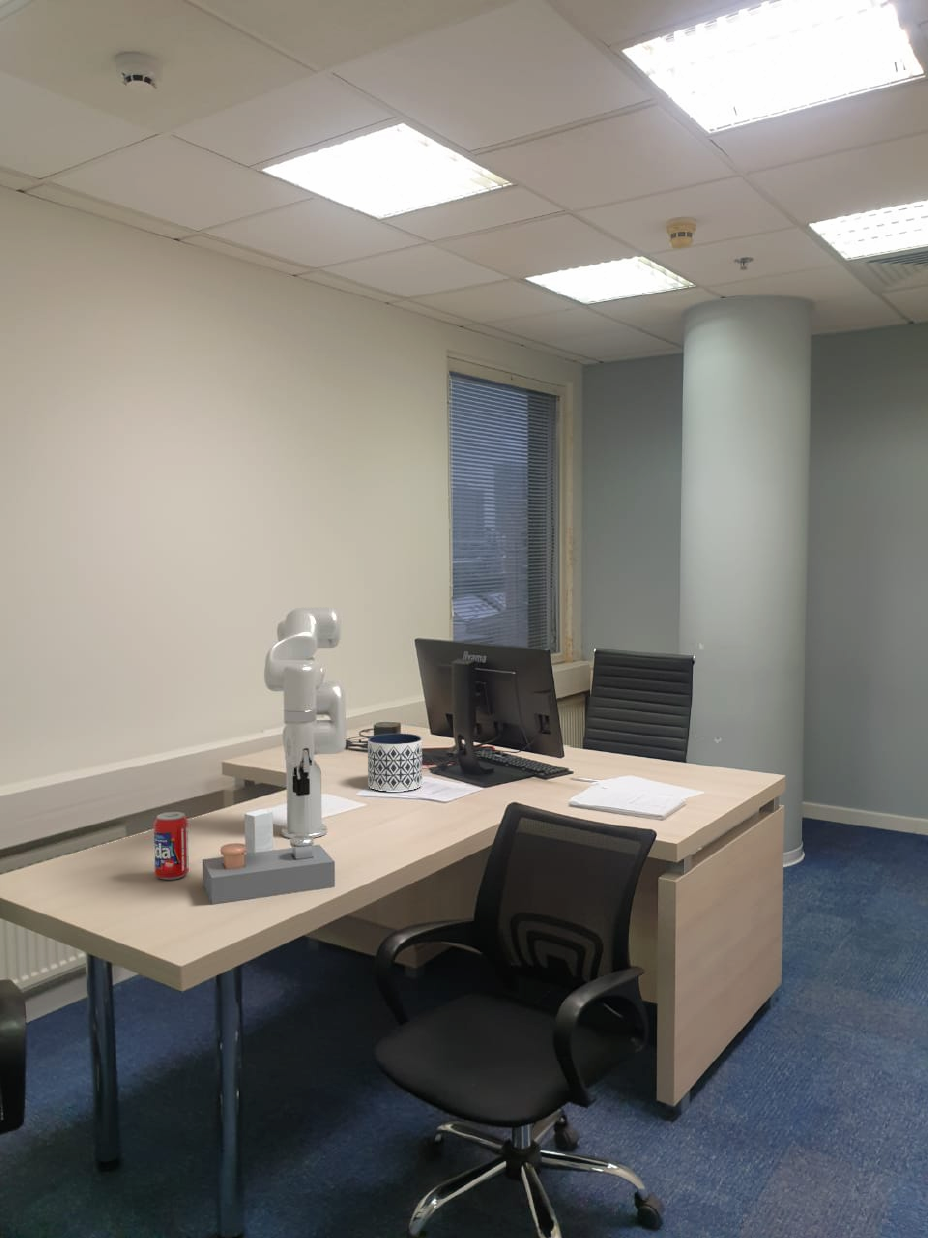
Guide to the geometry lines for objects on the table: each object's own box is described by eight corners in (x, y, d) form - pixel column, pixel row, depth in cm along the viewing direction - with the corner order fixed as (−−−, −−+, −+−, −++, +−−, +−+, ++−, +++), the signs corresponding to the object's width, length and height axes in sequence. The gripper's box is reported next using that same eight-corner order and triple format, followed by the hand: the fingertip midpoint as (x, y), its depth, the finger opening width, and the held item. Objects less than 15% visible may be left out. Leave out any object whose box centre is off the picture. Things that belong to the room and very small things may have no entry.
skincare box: (263, 853, 242) (262, 808, 241) (274, 857, 239) (273, 811, 238) (244, 859, 237) (243, 813, 236) (255, 863, 234) (254, 816, 234)
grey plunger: (287, 862, 222) (287, 836, 222) (310, 859, 225) (310, 834, 224) (293, 869, 217) (292, 843, 217) (316, 866, 220) (316, 840, 219)
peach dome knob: (219, 871, 216) (219, 845, 216) (243, 868, 218) (243, 842, 218) (223, 879, 211) (223, 852, 211) (248, 875, 213) (247, 849, 213)
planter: (416, 794, 303) (415, 744, 302) (361, 792, 306) (361, 743, 304) (427, 781, 321) (426, 734, 320) (375, 779, 323) (375, 732, 322)
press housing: (203, 884, 219) (202, 859, 218) (319, 868, 230) (319, 844, 230) (212, 904, 206) (211, 878, 206) (334, 886, 217) (334, 861, 217)
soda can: (195, 875, 225) (194, 814, 224) (166, 884, 219) (164, 821, 218) (177, 868, 230) (176, 809, 229) (148, 876, 224) (147, 815, 223)
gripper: (276, 712, 225) (277, 787, 226) (292, 723, 210) (293, 803, 211) (307, 710, 228) (308, 784, 229) (324, 720, 213) (325, 800, 214)
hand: (301, 793), depth 220 cm, fingers closed
